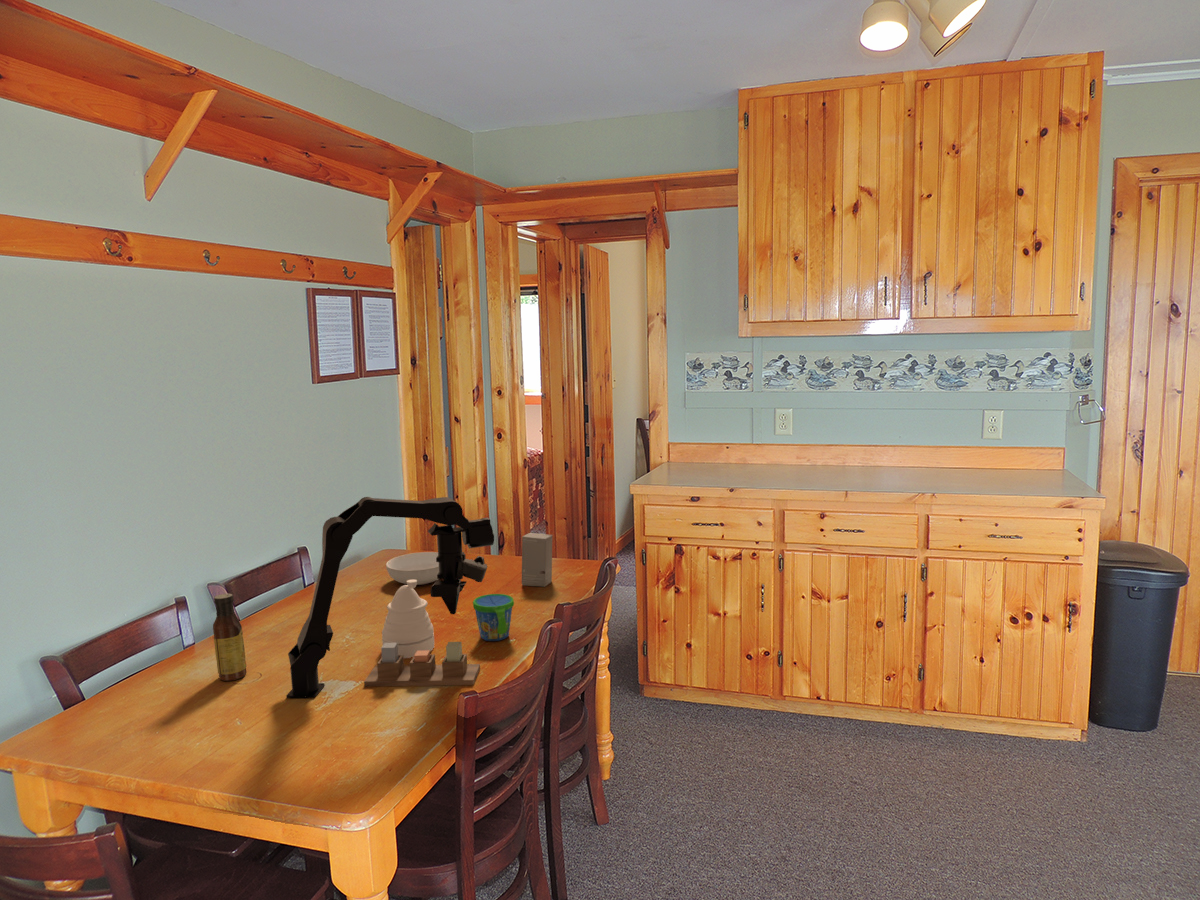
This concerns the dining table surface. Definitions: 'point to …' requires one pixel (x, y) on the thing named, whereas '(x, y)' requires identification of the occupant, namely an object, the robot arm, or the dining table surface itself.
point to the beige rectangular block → (454, 651)
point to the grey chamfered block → (389, 652)
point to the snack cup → (493, 616)
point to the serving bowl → (414, 567)
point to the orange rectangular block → (422, 656)
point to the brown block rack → (423, 673)
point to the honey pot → (408, 622)
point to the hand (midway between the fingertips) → (453, 613)
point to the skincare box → (536, 559)
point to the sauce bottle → (228, 640)
